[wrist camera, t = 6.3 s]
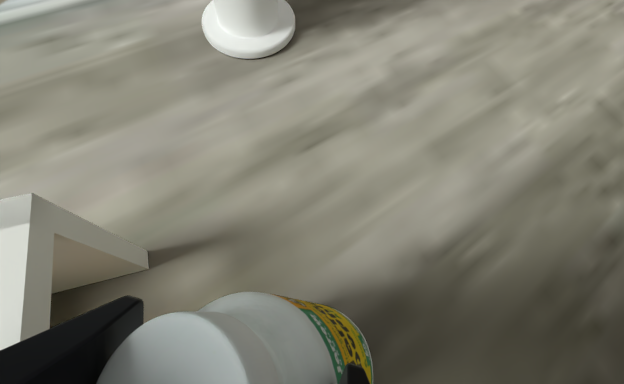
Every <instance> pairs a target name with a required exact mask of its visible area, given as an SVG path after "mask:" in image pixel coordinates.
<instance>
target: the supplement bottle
mask: <svg viewBox="0 0 624 384" xmlns="http://www.w3.org/2000/svg"><path fill="white" fill-rule="evenodd" d="M347 363H352V364H355V365H358V366H361V367H363V368H364V370H365V372H366V375H367V377H368V379H369V382H370V384H373V365H372V359H371V354H370V350H369V347H368V345H367V342H366V339H365V338H364V336H363V334H362V332H361V331H360V330H359V328H358V327H357V326H356V325H355V324H354V323H353V322H352V321H351V320H350V319H349V318H348V317H347V316H346V315H344V314H343V313H341V312H340V311H338V310H336V309H334V308H331V307H328V306H325V305H321V304H316V303H311V302H307V301H302V300H297V299H292V298H287V297H283V296H278V295H273V294H268V293H262V292H239V293H234V294H230V295H226V296H223V297H221V298H218V299H216V300H214V301H212V302H211V303H209V304H207V305H206V306H204V307H202V308H201V309H200V310H199V311H197V312H186V311H184V312H173V313H168V314H165V315H161V316H158V317H156V318H154V319H151V320H150V321H148V322H146V323H144V324H143V325H141V326H140V327H139V328H137V329H136V330H135V331H134V332H133V333H132V334H130V335H129V336H128V337H127V338H126V339H125V340H124V341H123V342H122V344H121V345H120V346H119V347H118V348H117V349H116V351H115V352H114V353H113V354H112V356H111V357H110V359H109V360H108V362H107V364H106V365H105V367H104V369H103V371H102V373H101V375H100V376H99V378H98V381H97V383H96V384H339V381H340V379H341V376H342V374H343V371H344V368H345V366H346V364H347Z"/></svg>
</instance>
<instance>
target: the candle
mask: <svg viewBox="0 0 624 384" xmlns="http://www.w3.org/2000/svg"><path fill="white" fill-rule="evenodd" d="M202 27H203V31H204V34H205V36H206V38H207V40H208V41H209V43H210V44H211V45H212V46H213V47H214V48H216V49H217V50H218V51H220V52H222V53H224V54H226V55H229V56H232V57H236V58H242V59H255V58H262V57H266V56H269V55H272V54H274V53H276V52H278V51H280V50H281V49H282V48H284V47H285V46H286V45H287V44H288V43H289V42H290V40H291V39H292V37H293V35H294V31H295V15H294V12H293V10H292V8H291V6H290V5H289V4H288V3H287V2H286V1H285V0H212V1H211V2H210V3H209V4H208V5H207V7H206V8H205V10H204V12H203V15H202Z"/></svg>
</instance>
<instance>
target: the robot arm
mask: <svg viewBox="0 0 624 384" xmlns="http://www.w3.org/2000/svg"><path fill="white" fill-rule="evenodd" d="M143 311H144V303H143V301H142V299H139V298H136V297H133V296H124V297H121V298H119V299H117V300H114V301H112V302H110V303H107V304H105V305H103V306H100V307H98V308H96V309H94V310H91V311H89V312H87V313H84V314H82V315H80V316H78V317H75V318H73V319H71V320H68V321H66V322H64V323H62V324H59V325H57V326H55V327H52V328H50V329H48V330H46V331H43V332H41V333H39V334H36V335H34V336H32V337H30V338H27V339H25V340H23V341H20V342H18V343H16V344H14V345H11V346H9V347H7V348H4V349H2V350H0V384H96V383H97V381H98V378H99V376H100V375H101V373H102V371H103V369H104V367H105V365H106V364H107V362H108V360H109V359H110V357H111V356H112V354H113V353H114V352H115V351H116V349H117V348H118V347H119V346H120V345H121V344H122V342H123V341H124V340H125V339H126V338H127V337H128V336H129V335H130V334H132V333H133V332H134V331H135V330H136V329H137V328H139V327H140V326H141V325H143ZM339 384H370V382H369V379H368V377H367V375H366V372H365V370H364V368H363V367H361V366H358V365H355V364H352V363H347V364H346V366H345V368H344V371H343V374H342V376H341V379H340V381H339Z"/></svg>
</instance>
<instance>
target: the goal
mask: <svg viewBox="0 0 624 384" xmlns="http://www.w3.org/2000/svg"><path fill="white" fill-rule="evenodd" d="M147 269H149V265H148V251H146V250H145V249H143V248H141V247H139V246H137V245H135V244H133V243H131V242H129V241H127V240H125V239H123V238H121V237H119V236H117V235H115V234H113V233H111V232H109V231H107V230H105V229H103V228H101V227H99V226H97V225H95V224H93V223H91V222H89V221H87V220H85V219H83V218H81V217H79V216H77V215H75V214H73V213H71V212H69V211H67V210H65V209H63V208H61V207H59V206H57V205H55V204H53V203H51V202H49V201H47V200H45V199H43V198H41V197H39V196H37V195H35V194H33V193H30V194H25V195H20V196H15V197H10V198H5V199H0V350H2V349H4V348H7V347H9V346H11V345H14V344H16V343H18V342H20V341H23V340H25V339H27V338H30V337H32V336H34V335H36V334H39V333H41V332H43V331H46V330H48V329H50V310H51V294H52V293H56V292H60V291H64V290H68V289H72V288H76V287H80V286H84V285H88V284H92V283H96V282H100V281H104V280H108V279H112V278H115V277H119V276H123V275H127V274H131V273H135V272H139V271H143V270H147Z"/></svg>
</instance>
